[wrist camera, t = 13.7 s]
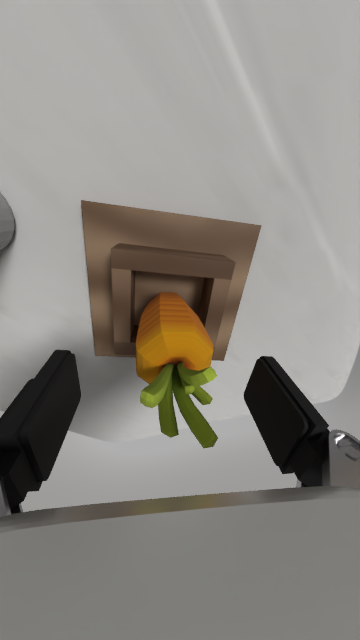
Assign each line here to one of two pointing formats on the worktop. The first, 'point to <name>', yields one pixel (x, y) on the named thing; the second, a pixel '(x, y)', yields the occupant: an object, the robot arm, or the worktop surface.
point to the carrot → (175, 364)
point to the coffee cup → (6, 223)
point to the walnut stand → (162, 270)
